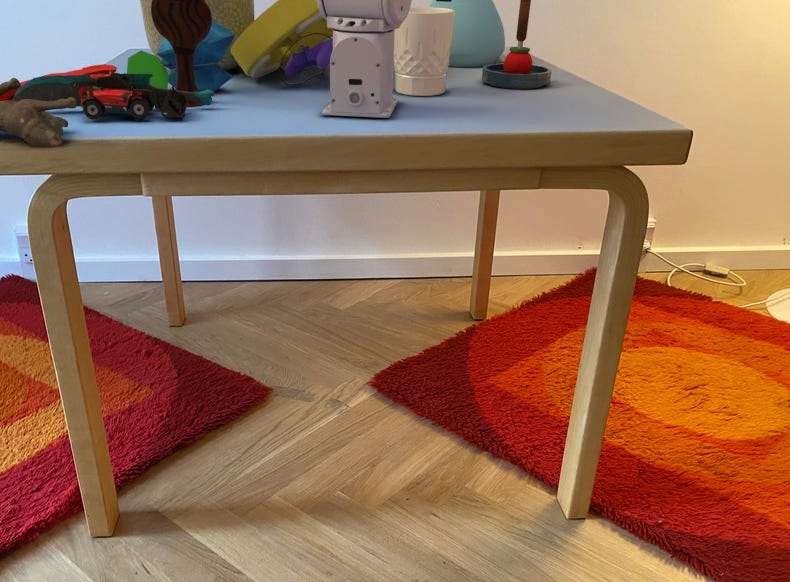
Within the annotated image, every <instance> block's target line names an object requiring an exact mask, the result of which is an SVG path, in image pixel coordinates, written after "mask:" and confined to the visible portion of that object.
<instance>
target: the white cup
mask: <svg viewBox="0 0 790 582" xmlns="http://www.w3.org/2000/svg"><path fill="white" fill-rule="evenodd" d="M454 16H455V10H452V9H446V8H433V7H429V6H428V7H427V6H411V7H410V10H409V13H408V15H407V17H406V19H405V20H404V22H403V23H402V24H401V25H400V28H398V29H394V55H393V70H394V71H395V73H394V77H395V78H394V89H395V92H396V93H398V94H401V95H405V96H411V97H412V96H414V97H415V96H416V97H432V96H439V95H442V94H444V93H445V92H446V84H447V76H448V75H447V73H448V69H449V67H450V66H449V56H450V51H451V42H452V33H453V25H454Z"/></svg>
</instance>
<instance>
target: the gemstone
mask: <svg viewBox="0 0 790 582" xmlns="http://www.w3.org/2000/svg"><path fill="white" fill-rule="evenodd" d="M126 74H153V76H152V77H151V78H150V80H149V81H150V85H152V86H154V87H157V88H162V89H169V83H168V78H169V74H170V72H169V71H168V70H167V67H165V66H164V65H163V64H162V62H161V60H160V59H159V57H157V56H155V55H154V54H153V53H150V52H147V51H144V50H142V49H141V50H139V51H137V52H136V53H134V54H132V55H130V56H129V57H127V67H126Z"/></svg>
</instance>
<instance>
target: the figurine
mask: <svg viewBox="0 0 790 582" xmlns="http://www.w3.org/2000/svg"><path fill="white" fill-rule="evenodd" d="M151 15H152V20H153V23H154V26H155V28H156V29H157V31H158V32H159V33H160V34H161V35H162V36H163V37H164V38H165V39H167V40H168V41H169V43H170V44H171V46H172V48H173V50H174V53H175V56H176V63H177V84H176V88H174V89H175V90H177V91H187V92H200V91H199V90H198V88H197V86H196V82H195V76H194V52H195V48H196V47H197V45H198V44H199V43H200V42H201V41H202V40H204V39H205V38H206V37H207V35H208V33H209V31H210V28H211V25H212V16H211V11H210V9H209V7H208V5H207V3H206V2H205V1H204V0H152V4H151ZM203 105H205V104H204V103H202V102H192V101H187V100H186V104H185V108H188V107H199V106H203Z"/></svg>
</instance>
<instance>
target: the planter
mask: <svg viewBox="0 0 790 582" xmlns="http://www.w3.org/2000/svg"><path fill="white" fill-rule="evenodd" d="M204 1H205V2H206V3H207V5H208V7H209V9H210V11H211V16H212V20H213V21H215V22H217V23H218V24H220V25H221V26H223V27H224V28H226V29H228V30H229V31H231V32H232V33H234V34H236V35H235V37H234V39H233V40H232V42H231V44H230V45H229V47H228V49H227V51H226V52H225V54H224V56H223V57H222V59H221V61H220V62H218V63H216V64H217V65H219V66H220V67H221V68H223V69H224V70H225V71H227V72H228V71H232V70H235V69H238V68H239V67H241V66H240V65H239V64H238V62H237V61H236V59H235V58H234V56H233V55H232V54H231V48H232V46H233V44H234V43H235V41H236V40H237V38H238V37H239V36H240V35H241V34H242V33H243V31H244V30H245V29H246V28H247V27H248V26H249V25H250V24H251V23H252V22H253V21H254V20H255V19H256V18H255V0H204ZM139 2H140V8H141V14H142V21H143V27H144V32H145V36H146V41H147V44H148V47H149V49H150V51H151V54H152V55H155V56H157V57H159V56H158V55H156V53H157V51H158V49H159V47H160V45H161V43H162V41H163V39H164V37H163V36H162V35H161V34H160V33H159V32H158V31H157V29H156V28H155V26H154V23H153V20H152V15H151V4H152V0H139ZM159 59H160V60H162V58H161V57H159ZM210 64H215V63H210ZM202 65H206V64H202ZM195 66H196V65H195ZM175 69H176V68H175ZM175 69H171V70H172V71H173V70H175Z"/></svg>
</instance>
